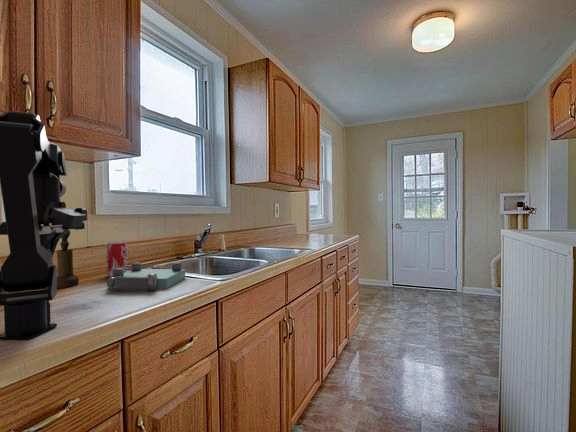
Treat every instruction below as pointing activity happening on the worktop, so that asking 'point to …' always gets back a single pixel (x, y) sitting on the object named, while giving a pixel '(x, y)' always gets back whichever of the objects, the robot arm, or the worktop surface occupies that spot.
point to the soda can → (117, 257)
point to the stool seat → (163, 275)
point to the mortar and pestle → (65, 264)
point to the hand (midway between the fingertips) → (47, 261)
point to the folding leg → (134, 282)
